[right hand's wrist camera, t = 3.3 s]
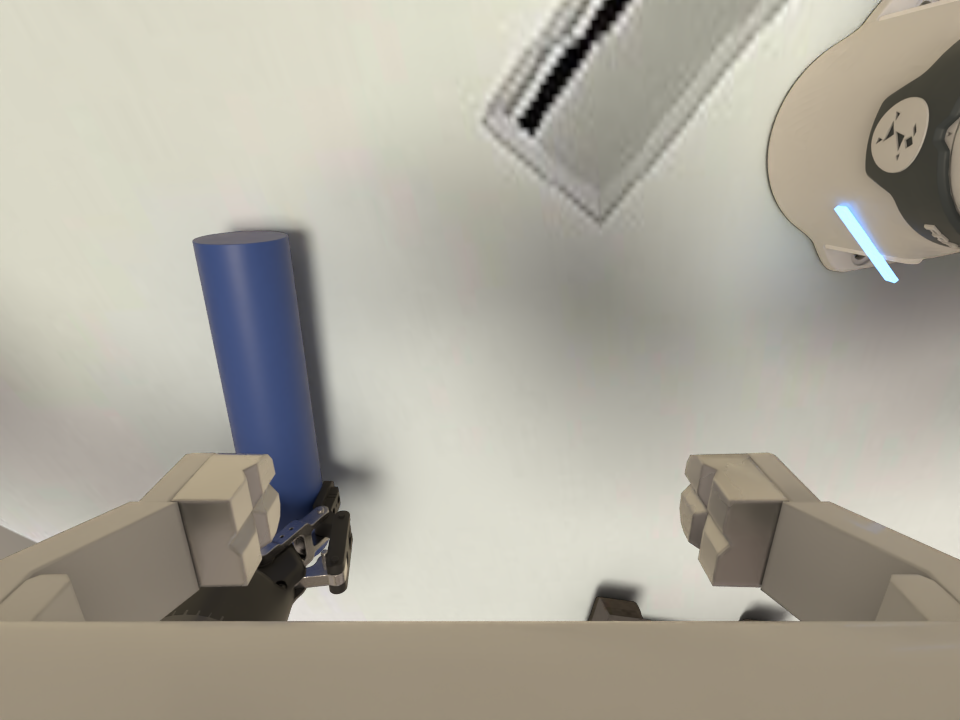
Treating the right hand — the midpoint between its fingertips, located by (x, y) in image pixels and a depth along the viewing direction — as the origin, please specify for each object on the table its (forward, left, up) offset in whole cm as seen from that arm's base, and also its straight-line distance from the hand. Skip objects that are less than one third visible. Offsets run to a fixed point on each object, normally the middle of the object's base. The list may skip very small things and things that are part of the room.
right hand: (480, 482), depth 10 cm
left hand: (+16, +21, -29) cm, 39 cm away
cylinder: (+16, +12, -31) cm, 37 cm away
